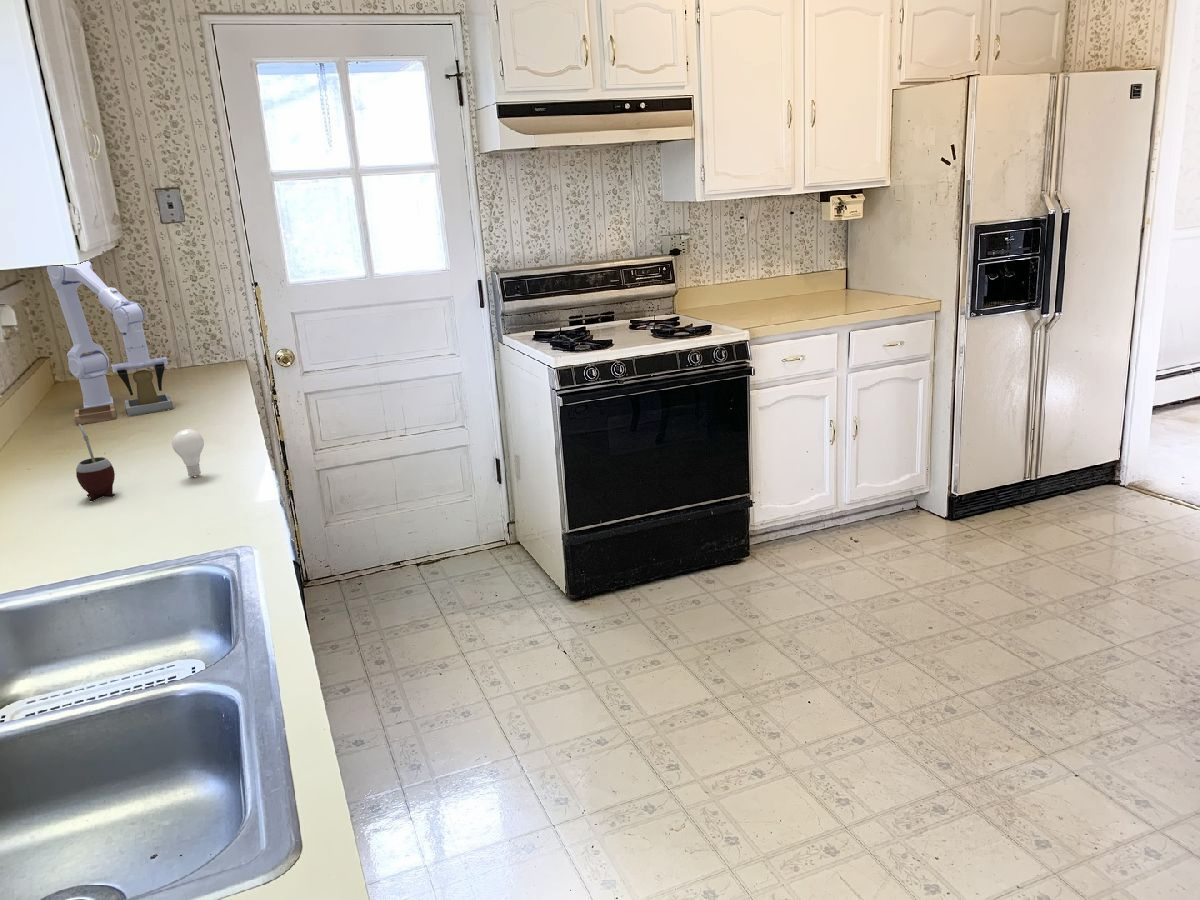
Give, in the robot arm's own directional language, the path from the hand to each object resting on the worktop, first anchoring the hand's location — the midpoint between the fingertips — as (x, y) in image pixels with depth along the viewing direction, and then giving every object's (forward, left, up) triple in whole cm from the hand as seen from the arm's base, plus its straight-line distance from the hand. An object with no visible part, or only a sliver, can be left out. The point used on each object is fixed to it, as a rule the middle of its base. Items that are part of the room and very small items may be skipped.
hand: (146, 392), depth 265 cm
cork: (+1, 0, -5) cm, 5 cm away
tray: (0, 0, -5) cm, 5 cm away
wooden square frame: (+1, -14, -5) cm, 15 cm away
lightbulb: (+79, +4, -5) cm, 79 cm away
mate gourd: (+79, -15, -5) cm, 81 cm away
